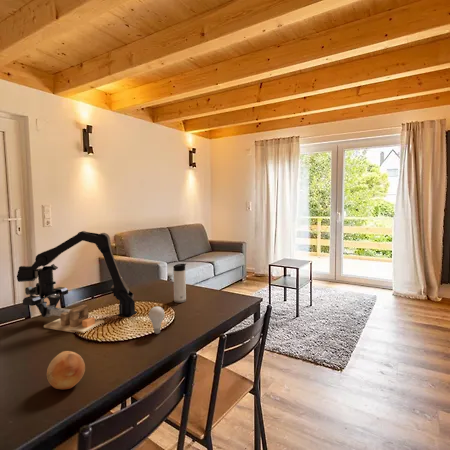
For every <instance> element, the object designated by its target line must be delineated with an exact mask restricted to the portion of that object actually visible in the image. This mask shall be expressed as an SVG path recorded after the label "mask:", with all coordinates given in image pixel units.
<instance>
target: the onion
mask: <svg viewBox="0 0 450 450" xmlns="http://www.w3.org/2000/svg"><path fill="white" fill-rule="evenodd" d="M85 371H86V364H85V360H84V359H83V358H82V356H81V355H80V354H78V353H77V352H75V351H71V350H62V351H61V352H60V353H58V354H57V355H56V356H54V357H53V358H52V360H51V361H50V362H49V364H48V366H47V370H46V378H47V381H48V383H49V384H50V385H51V387H53V388H54V389H57V390H69V389H72V388H74V387H75V386H76V385H77V384H78V383H79V382H80V381H81V380H82V378H83V377H84V374H85Z"/></svg>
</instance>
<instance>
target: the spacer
mask: <svg viewBox="0 0 450 450" xmlns="http://www.w3.org/2000/svg"><path fill="white" fill-rule="evenodd" d="M95 319H96V317H92V316H90V317H89V316H88V318H87V319H85V320H83V321H82V327H89V326H91V325H93V324H95Z"/></svg>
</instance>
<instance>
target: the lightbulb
mask: <svg viewBox="0 0 450 450" xmlns="http://www.w3.org/2000/svg"><path fill="white" fill-rule="evenodd" d="M164 317H165V310H164V308H163V307H161V306H157V305H156V306H154V307H151V309H149V312H148V318H149V320H150V322H151V323H152V328H153V333H154V334H156V335H158V334H160V333H161V328H162V321H163V320H164Z"/></svg>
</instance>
